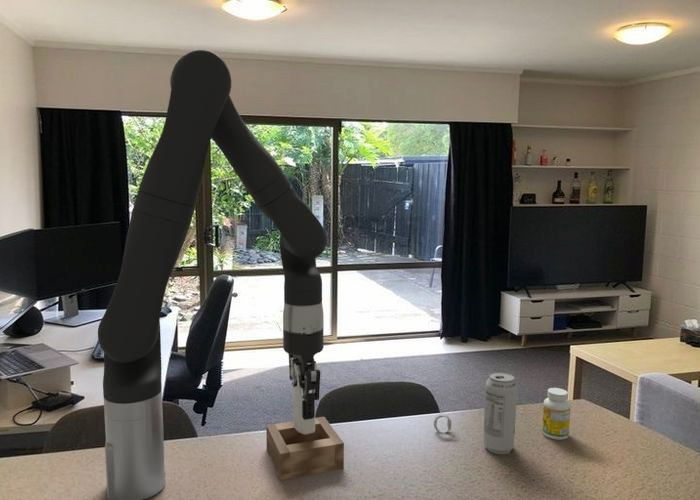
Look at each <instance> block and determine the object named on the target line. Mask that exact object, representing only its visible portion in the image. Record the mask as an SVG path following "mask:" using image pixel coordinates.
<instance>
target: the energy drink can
mask: <svg viewBox="0 0 700 500" xmlns="http://www.w3.org/2000/svg"><path fill="white" fill-rule="evenodd" d="M484 391H485V392H484V412H483V413H484V414H483V417H484V418H483V437H482V438H483V439H482V443H483V445H484V446H485V448H486V450H487V451H488V452H490V453H493V454H498V455H507V454H509V453H510V452H511V451H512V449H514V448H515V435H516V434H515V433H516V432H515V431H516V415H517V413H516V412H517V396H518V394H517V393H518V385H517V383H516V381H515V376H514V375H512V374H510V373H507V372H500V371H499V372H495V371H494V372H492V373H489V375H488V379H486V381H485V389H484Z"/></svg>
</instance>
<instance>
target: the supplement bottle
mask: <svg viewBox="0 0 700 500" xmlns="http://www.w3.org/2000/svg"><path fill="white" fill-rule="evenodd" d="M546 395H547V397H546V398H545V399H544V400H543V408H542V423H541V424H542V425H541V432H542V434H543V435H544V436H545V437H547V438H549V439H553V440H557V441H559V440H560V441H561V440H562V441H563V440H566V439H567V438H569V435H570V421H571V420H570V419H571V406H572V405H571V404H570V401H568V398H569V392H568V391H567V390H565V389H563V388H559V387H549V388H548V389H547V394H546Z"/></svg>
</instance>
